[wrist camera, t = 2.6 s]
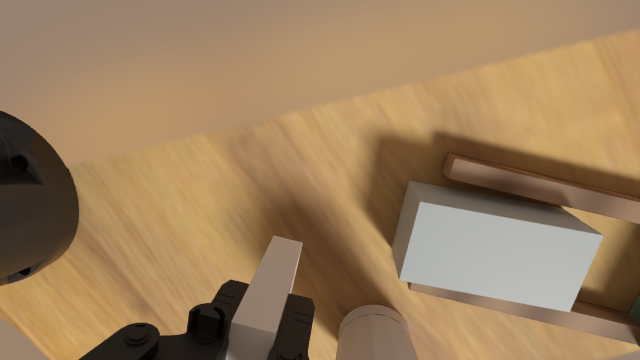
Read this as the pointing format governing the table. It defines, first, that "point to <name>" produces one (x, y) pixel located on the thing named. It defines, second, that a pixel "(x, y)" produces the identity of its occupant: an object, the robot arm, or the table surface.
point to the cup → (374, 335)
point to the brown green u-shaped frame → (582, 316)
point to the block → (492, 246)
